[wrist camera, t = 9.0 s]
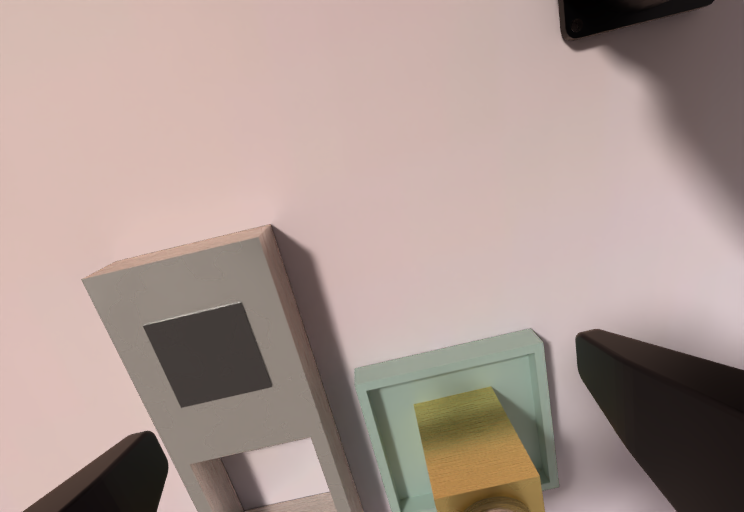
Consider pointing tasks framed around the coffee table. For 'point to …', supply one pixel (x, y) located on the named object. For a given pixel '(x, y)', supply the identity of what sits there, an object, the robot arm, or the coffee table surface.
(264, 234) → the grey slotted plate
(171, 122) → the coffee table surface
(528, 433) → the parts tray
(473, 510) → the brass block with knob
